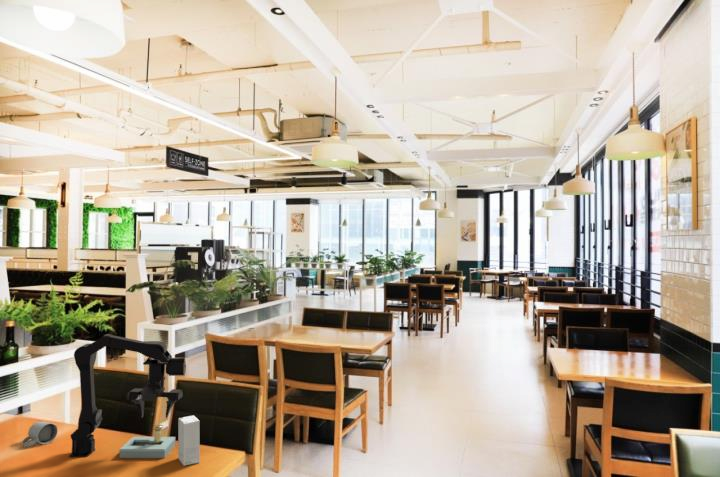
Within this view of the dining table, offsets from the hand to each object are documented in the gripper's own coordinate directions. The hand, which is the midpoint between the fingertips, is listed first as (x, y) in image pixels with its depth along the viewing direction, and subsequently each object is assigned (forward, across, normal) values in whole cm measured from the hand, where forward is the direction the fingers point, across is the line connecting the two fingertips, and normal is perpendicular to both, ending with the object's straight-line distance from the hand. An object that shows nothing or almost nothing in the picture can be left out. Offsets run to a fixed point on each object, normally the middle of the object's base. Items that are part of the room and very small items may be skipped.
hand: (154, 417), depth 185 cm
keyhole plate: (+12, -1, -1) cm, 12 cm away
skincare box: (+12, +16, -9) cm, 22 cm away
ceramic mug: (+13, -46, +6) cm, 48 cm away
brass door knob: (+12, +2, -1) cm, 12 cm away
